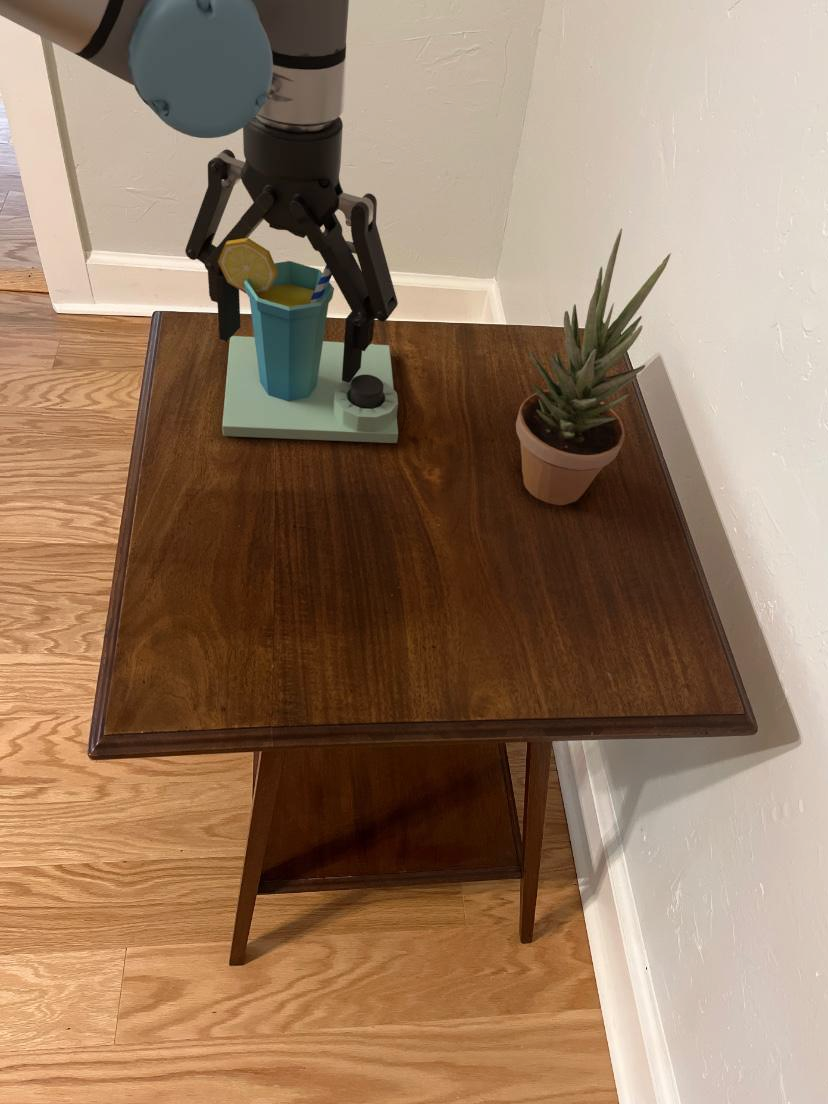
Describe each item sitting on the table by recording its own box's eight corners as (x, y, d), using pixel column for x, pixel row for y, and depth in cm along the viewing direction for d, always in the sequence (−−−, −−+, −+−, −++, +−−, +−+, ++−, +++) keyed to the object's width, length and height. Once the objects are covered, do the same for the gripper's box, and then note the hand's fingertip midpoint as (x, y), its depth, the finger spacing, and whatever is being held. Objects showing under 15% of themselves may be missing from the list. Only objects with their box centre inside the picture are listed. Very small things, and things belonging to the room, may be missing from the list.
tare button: (350, 408, 84) (351, 393, 83) (349, 388, 86) (350, 373, 84) (382, 410, 84) (384, 395, 83) (381, 390, 86) (382, 375, 85)
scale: (222, 436, 83) (221, 410, 81) (230, 345, 92) (229, 319, 89) (397, 443, 86) (400, 418, 83) (388, 354, 95) (391, 329, 92)
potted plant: (606, 461, 88) (693, 219, 70) (599, 528, 82) (693, 282, 64) (506, 438, 88) (566, 190, 70) (491, 502, 82) (553, 250, 64)
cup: (368, 363, 91) (381, 221, 80) (372, 413, 86) (386, 268, 75) (225, 356, 89) (217, 207, 77) (221, 406, 84) (211, 255, 72)
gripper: (123, 83, 67) (153, 334, 84) (424, 175, 65) (394, 416, 81) (175, 52, 72) (194, 295, 89) (457, 137, 70) (423, 371, 86)
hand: (290, 353), depth 85 cm, fingers open, 12 cm apart
